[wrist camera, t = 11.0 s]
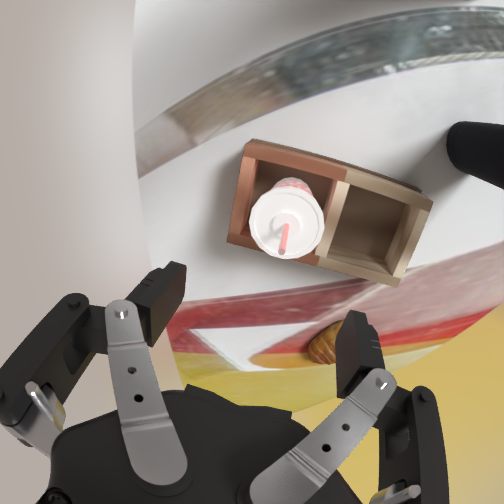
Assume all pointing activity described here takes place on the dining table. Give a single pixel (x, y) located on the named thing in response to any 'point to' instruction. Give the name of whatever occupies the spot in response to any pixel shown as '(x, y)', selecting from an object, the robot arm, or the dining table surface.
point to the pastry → (324, 345)
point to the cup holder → (337, 210)
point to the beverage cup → (287, 220)
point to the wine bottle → (478, 150)
